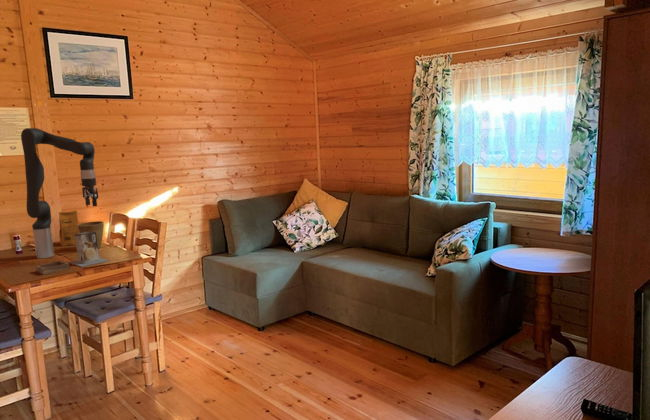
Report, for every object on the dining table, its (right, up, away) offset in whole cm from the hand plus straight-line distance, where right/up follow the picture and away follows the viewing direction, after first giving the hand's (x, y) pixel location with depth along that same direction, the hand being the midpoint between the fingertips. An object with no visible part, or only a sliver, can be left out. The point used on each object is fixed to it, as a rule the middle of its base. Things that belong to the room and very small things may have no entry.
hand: (91, 205), depth 284 cm
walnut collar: (-10, -35, -22) cm, 42 cm away
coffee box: (+2, -31, -8) cm, 32 cm away
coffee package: (-33, -25, +41) cm, 59 cm away
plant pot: (-11, -27, +27) cm, 39 cm away
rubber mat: (+2, -32, -8) cm, 33 cm away
